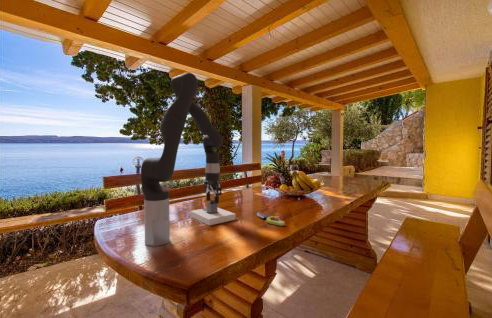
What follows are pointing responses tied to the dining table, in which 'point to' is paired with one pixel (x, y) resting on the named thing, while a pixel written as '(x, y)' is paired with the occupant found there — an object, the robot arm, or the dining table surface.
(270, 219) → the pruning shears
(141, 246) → the dining table surface
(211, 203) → the gray knobbed square peg
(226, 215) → the socket plate
